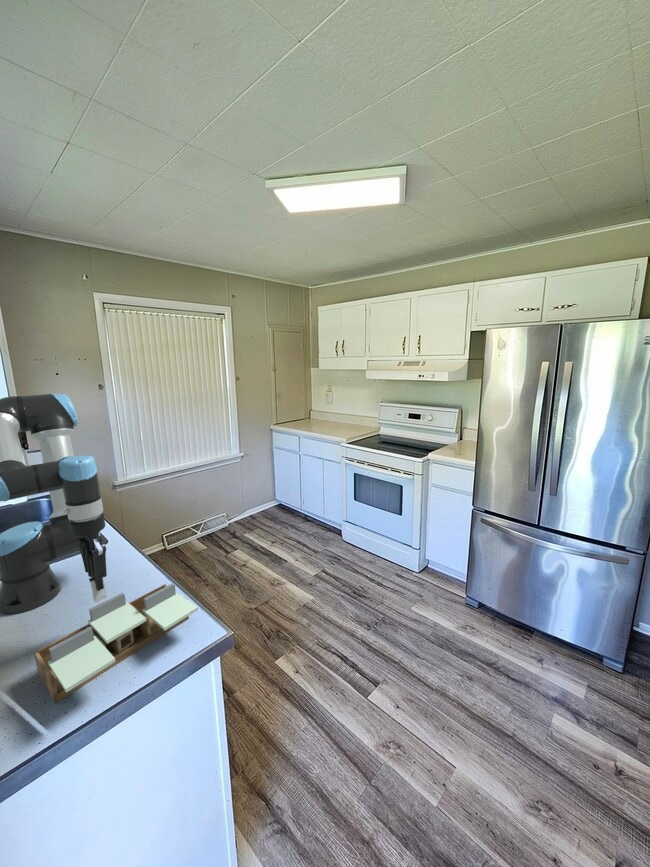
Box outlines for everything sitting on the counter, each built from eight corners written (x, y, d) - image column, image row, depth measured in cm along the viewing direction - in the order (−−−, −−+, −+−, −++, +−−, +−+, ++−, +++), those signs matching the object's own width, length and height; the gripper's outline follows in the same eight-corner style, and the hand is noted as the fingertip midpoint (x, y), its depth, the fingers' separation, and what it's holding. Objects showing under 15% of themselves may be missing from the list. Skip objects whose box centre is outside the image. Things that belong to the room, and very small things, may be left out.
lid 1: (48, 664, 77) (45, 649, 76) (95, 638, 84) (92, 624, 83) (66, 692, 70) (63, 676, 69) (115, 661, 77) (113, 646, 77)
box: (39, 678, 82) (34, 652, 81) (167, 604, 106) (164, 584, 105) (56, 706, 75) (50, 678, 74) (189, 621, 99) (186, 599, 98)
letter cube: (109, 648, 89) (107, 634, 89) (124, 637, 93) (122, 623, 92) (119, 653, 88) (117, 639, 87) (134, 642, 91) (132, 628, 90)
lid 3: (142, 612, 93) (140, 599, 92) (175, 593, 100) (174, 581, 99) (164, 630, 86) (162, 617, 85) (198, 609, 93) (196, 596, 92)
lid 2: (88, 623, 89) (86, 610, 88) (126, 603, 96) (124, 591, 95) (107, 643, 82) (104, 629, 82) (146, 620, 89) (144, 607, 89)
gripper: (60, 515, 91) (75, 596, 96) (78, 528, 83) (94, 616, 88) (92, 506, 97) (105, 583, 101) (113, 517, 89) (125, 600, 94)
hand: (100, 598), depth 95 cm, fingers closed
